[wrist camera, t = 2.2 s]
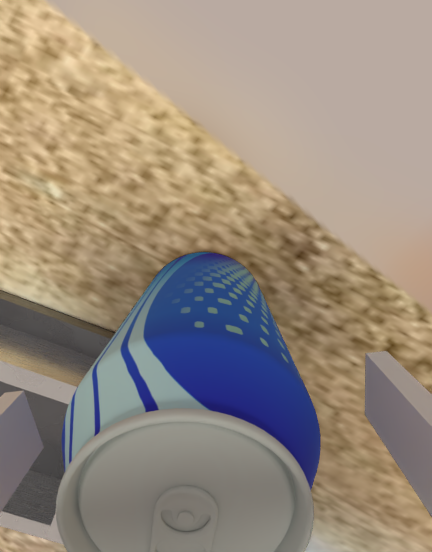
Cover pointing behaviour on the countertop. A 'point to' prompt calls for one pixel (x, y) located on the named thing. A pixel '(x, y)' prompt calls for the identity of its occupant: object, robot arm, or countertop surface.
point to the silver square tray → (43, 398)
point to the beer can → (191, 425)
